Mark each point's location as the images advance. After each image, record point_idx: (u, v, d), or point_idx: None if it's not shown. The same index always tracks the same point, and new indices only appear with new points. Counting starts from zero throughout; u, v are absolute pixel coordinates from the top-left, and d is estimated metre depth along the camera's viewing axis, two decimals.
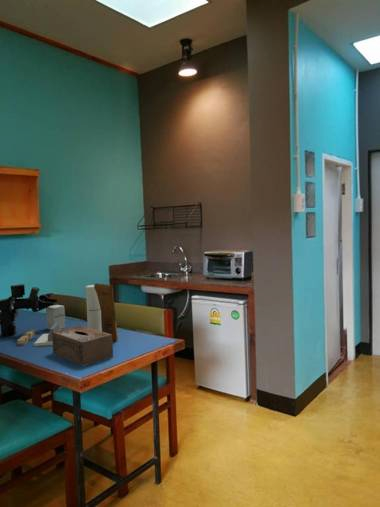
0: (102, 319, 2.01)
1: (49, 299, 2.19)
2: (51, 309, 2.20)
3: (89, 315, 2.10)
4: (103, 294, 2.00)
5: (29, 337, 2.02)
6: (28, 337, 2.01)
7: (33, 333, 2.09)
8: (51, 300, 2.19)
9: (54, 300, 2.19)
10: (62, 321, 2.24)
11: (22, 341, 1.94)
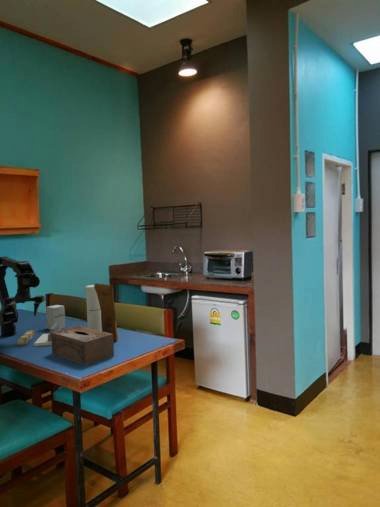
0: (102, 319, 2.01)
1: (34, 308, 2.01)
2: (51, 309, 2.20)
3: (89, 315, 2.10)
4: (103, 294, 2.00)
5: (29, 337, 2.02)
6: (28, 337, 2.01)
7: (33, 333, 2.09)
8: None
9: None
10: (62, 321, 2.24)
11: (22, 341, 1.94)
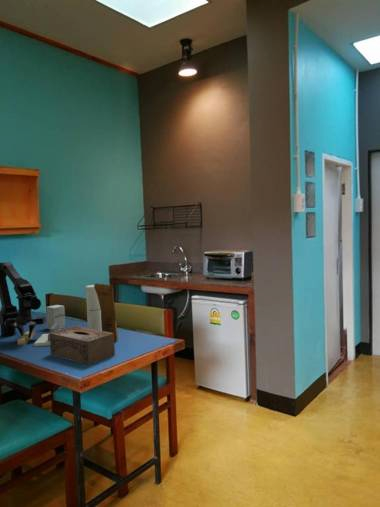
0: (102, 319, 2.01)
1: None
2: (51, 309, 2.20)
3: (89, 315, 2.10)
4: (103, 294, 2.00)
5: None
6: (28, 337, 2.01)
7: (33, 333, 2.09)
8: None
9: None
10: (62, 321, 2.24)
11: (22, 341, 1.94)
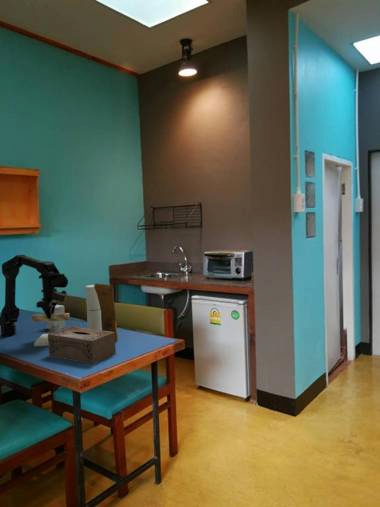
0: (102, 319, 2.01)
1: (52, 308, 2.01)
2: None
3: (89, 315, 2.10)
4: (103, 294, 2.00)
5: None
6: None
7: None
8: (51, 311, 2.01)
9: None
10: (62, 321, 2.24)
11: None
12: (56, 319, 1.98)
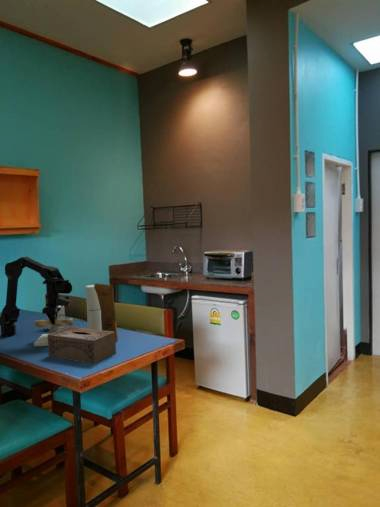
0: (102, 319, 2.01)
1: (56, 314, 2.01)
2: None
3: (89, 315, 2.10)
4: (103, 294, 2.00)
5: None
6: None
7: None
8: (54, 316, 2.01)
9: None
10: None
11: (72, 320, 2.01)
12: (60, 324, 1.98)
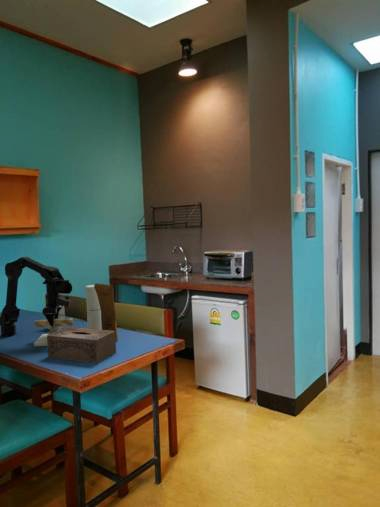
0: (102, 319, 2.01)
1: (57, 313, 2.04)
2: None
3: (89, 315, 2.10)
4: (103, 294, 2.00)
5: None
6: None
7: None
8: (56, 315, 2.04)
9: (55, 318, 2.04)
10: None
11: (72, 320, 2.01)
12: (60, 324, 1.98)
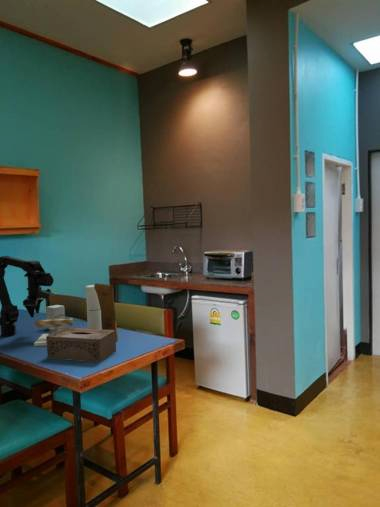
0: (102, 319, 2.01)
1: (38, 305, 2.10)
2: (51, 309, 2.20)
3: (89, 315, 2.10)
4: (103, 294, 2.00)
5: None
6: None
7: None
8: (37, 307, 2.10)
9: (37, 310, 2.10)
10: None
11: (72, 320, 2.01)
12: (60, 324, 1.98)
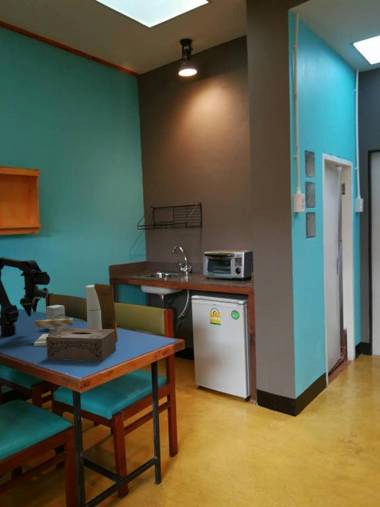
0: (102, 319, 2.01)
1: (35, 304, 2.11)
2: (51, 309, 2.20)
3: (89, 315, 2.10)
4: (103, 294, 2.00)
5: None
6: None
7: None
8: (34, 306, 2.11)
9: (34, 309, 2.11)
10: None
11: (72, 320, 2.01)
12: (60, 324, 1.98)
